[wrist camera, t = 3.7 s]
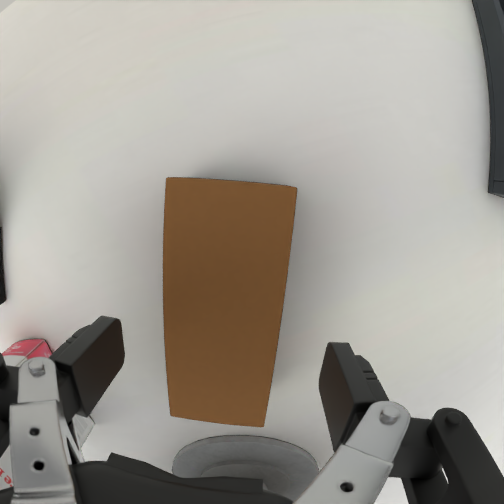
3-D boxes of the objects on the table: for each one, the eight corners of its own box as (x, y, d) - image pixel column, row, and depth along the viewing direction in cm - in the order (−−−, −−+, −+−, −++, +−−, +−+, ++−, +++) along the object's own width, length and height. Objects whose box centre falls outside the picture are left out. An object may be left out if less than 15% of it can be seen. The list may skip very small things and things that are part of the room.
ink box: (12, 340, 17) (-77, 417, 6) (47, 336, 17) (-56, 433, 6) (59, 421, 19) (1, 508, 8) (98, 425, 19) (40, 530, 7)
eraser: (187, 177, 14) (165, 177, 11) (288, 185, 14) (297, 187, 11) (183, 379, 17) (170, 416, 14) (263, 388, 17) (263, 427, 14)
